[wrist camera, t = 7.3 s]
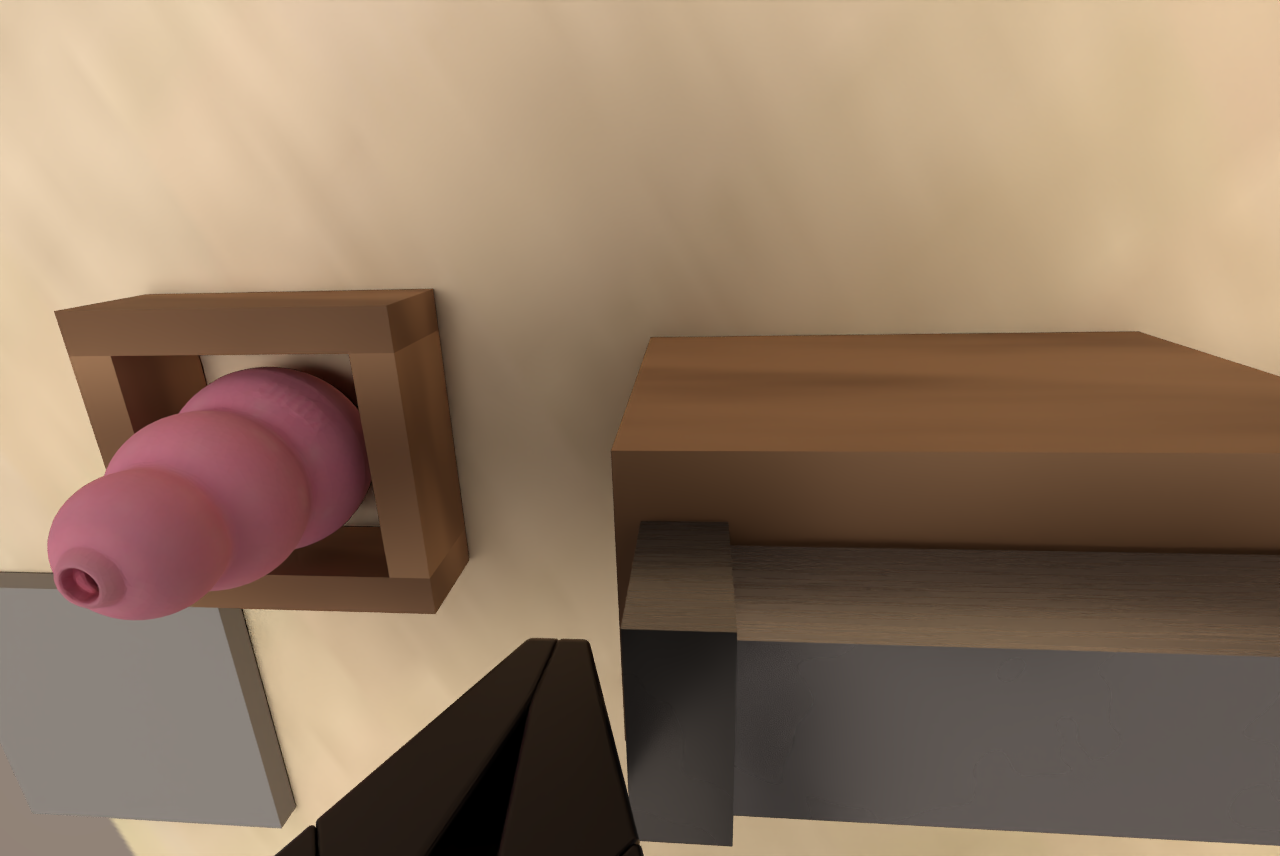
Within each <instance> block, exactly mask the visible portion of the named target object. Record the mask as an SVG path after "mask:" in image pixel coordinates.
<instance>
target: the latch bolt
mask: <svg viewBox="0 0 1280 856" xmlns="http://www.w3.org/2000/svg"><path fill="white" fill-rule="evenodd" d="M621 646H622V667H623V688H624V709H625V730H626V751H627V772H628V792H629V801H630V805H631V809H632V813H633V817H634V821H635V825H636V829H637V833H638V837H639V841H650V842H667V843H684V844H700V845H717V846H732V841H733V816H752V817H770V818H788V819H806V820H824V821H842V822H860V823H878V824H896V825H914V826H932V827H951V828H969V829H987V830H1005V831H1023V832H1041V833H1059V834H1077V835H1095V836H1113V837H1131V838H1149V839H1168V840H1186V841H1204V842H1222V843H1240V844H1258V845H1276V846H1280V555H1242V554H1185V553H1127V552H1070V551H1013V550H955V549H898V548H840V547H783V546H730V537H729V524H728V522H692V521H641V522H640V527H639V533H638V538H637V544H636V549H635V554H634V560H633V565H632V571H631V576H630V581H629V587H628V592H627V598H626V603H625V608H624V614H623V619H622V624H621Z"/></svg>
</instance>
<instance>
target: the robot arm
mask: <svg viewBox="0 0 1280 856" xmlns="http://www.w3.org/2000/svg"><path fill="white" fill-rule="evenodd" d="M275 856H644V855H643V851H642V848H641V846H640V841H639V837H638V833H637V829H636V825H635V821H634V817H633V813H632V809H631V805H630V801H629V797H628V793H627V789H626V785H625V781H624V777H623V773H622V769H621V765H620V761H619V757H618V753H617V749H616V745H615V741H614V737H613V733H612V729H611V725H610V721H609V717H608V713H607V709H606V705H605V702H604V698H603V694H602V690H601V686H600V682H599V678H598V674H597V670H596V666H595V662H594V658H593V654H592V650H591V646H590V643H589V642H588V641H587V640H584V639H561V640H558V639H551V638H530V639H528V640H527V641H525V642H524V643H523V644H522V645H520V646H519V647H518V648H517V649H516V650H515V651H513V652H512V653H511V654H510V655H509V656H508V657H506V658H505V659H504V660H503V661H502V662H501V663H499V664H498V665H497V666H496V667H495V668H494V669H492V670H491V671H490V672H489V673H488V674H487V675H485V676H484V677H483V678H482V679H481V680H480V681H478V682H477V683H476V684H475V685H474V686H473V687H471V688H470V689H469V690H468V691H467V692H466V693H464V694H463V695H462V696H461V697H460V698H459V699H457V700H456V701H455V702H454V703H453V704H452V705H450V706H449V707H448V708H447V709H446V710H445V711H443V712H442V713H441V714H440V715H439V716H438V717H436V718H435V719H434V720H433V721H432V722H430V723H429V724H428V725H427V726H426V727H425V728H423V729H422V730H421V731H420V732H419V733H418V734H416V735H415V736H414V737H413V738H412V739H411V740H409V741H408V742H407V743H406V744H405V745H404V746H402V747H401V748H400V749H399V750H398V751H397V752H395V753H394V754H393V755H392V756H391V757H390V758H388V759H387V760H386V761H385V762H384V763H383V764H381V765H380V766H379V767H378V768H377V769H376V770H374V771H373V772H372V773H371V774H370V775H369V776H367V777H366V778H365V779H364V780H363V781H362V782H360V783H359V784H358V785H357V786H356V787H355V788H353V789H352V790H351V791H350V792H349V793H348V794H346V795H345V796H344V797H343V798H342V799H341V800H339V801H338V802H337V803H336V804H335V805H334V806H332V807H331V808H330V809H329V810H328V811H327V812H325V813H324V814H323V815H322V816H321V817H320V818H318V819H317V821H316V827H315V826H313V825H311V826H309V827H307V828H306V829H305V830H304V831H303V832H302V833H300V834H299V835H298V836H297V837H296V838H295V839H293V840H292V841H291V842H290V843H289V844H288V845H286V846H285V847H284V848H283V849H282V850H281V851H279V852H278V853H277V854H276V855H275Z"/></svg>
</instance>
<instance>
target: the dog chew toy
mask: <svg viewBox="0 0 1280 856" xmlns="http://www.w3.org/2000/svg"><path fill="white" fill-rule="evenodd" d="M370 483H371V473H370V468H369V462H368V457H367V451H366V446H365V440H364V435H363V429H362V424H361V418H360V413H359V411H358V410H357V408H356V407H355V406H354V405H353V404H352V402H351V401H350V400H349V399H348V398H347V397H346V396H345V395H344V394H343V393H341V392H340V391H339V390H338V389H336V388H335V387H333V386H332V385H330V384H329V383H327V382H325V381H323V380H321V379H320V378H317V377H315V376H313V375H310V374H308V373H305V372H301V371H297V370H293V369H287V368H279V367H259V368H250V369H245V370H240V371H236V372H233V373H230V374H227V375H225V376H222V377H220V378H218V379H217V380H215V381H214V382H212V383H210V384H209V385H207V386H206V387H204V388H203V389H201V390H200V391H199V392H198V393H197V394H195V395H194V396H193V397H192V398H191V399H190V400H189V401H188V402H187V403H186V405H185V406H184V407H183V408H182V410H181V411H180V412H179V414H175V415H171V416H168V417H165V418H162V419H160V420H157V421H155V422H153V423H151V424H149V425H147V426H145V427H144V428H142V429H141V430H139V431H138V432H136V433H135V434H134V435H132V436H131V437H130V438H129V439H128V440H127V441H126V442H125V443H124V444H123V445H122V446H121V447H120V448H119V450H118V451H117V452H116V453H115V455H114V456H113V458H112V459H111V461H110V463H109V465H108V467H107V469H106V472H105V475H104V476H103V477H100V478H98V479H96V480H94V481H92V482H90V483H88V484H87V485H85V486H83V487H82V488H81V489H79V490H78V491H77V492H75V493H74V494H73V495H72V496H71V497H70V498H69V499H68V500H67V501H66V502H65V503H64V505H63V506H62V507H61V508H60V510H59V511H58V513H57V515H56V516H55V518H54V520H53V523H52V525H51V528H50V532H49V537H48V557H49V562H50V566H51V569H52V571H53V574H54V582H55V585H56V587H57V590H58V591H59V592H60V593H61V594H62V595H63V597H64V598H65V599H67V600H68V601H69V602H71V603H73V604H75V605H77V606H79V607H83V608H87V609H90V610H92V611H94V612H96V613H99V614H101V615H104V616H108V617H111V618H116V619H122V620H148V619H155V618H161V617H164V616H168V615H171V614H174V613H176V612H179V611H181V610H183V609H185V608H187V607H189V606H191V605H192V604H194V603H196V602H197V601H198V600H199V599H201V598H202V597H203V596H204V595H206V594H207V593H208V592H209V591H219V590H226V589H232V588H236V587H240V586H243V585H246V584H249V583H251V582H253V581H256V580H258V579H260V578H261V577H263V576H265V575H267V574H268V573H270V572H271V571H273V570H274V569H275V568H277V567H278V566H279V565H280V564H281V563H282V562H284V561H285V560H286V559H287V558H288V556H289V555H290V554H291V553H292V552H293V550H294V549H298V548H301V547H305V546H308V545H310V544H313V543H315V542H318V541H320V540H322V539H324V538H326V537H327V536H329V535H331V534H332V533H334V532H335V531H337V530H338V529H339V528H340V527H342V526H343V525H344V524H345V523H346V522H347V521H348V520H349V519H350V518H351V516H352V515H353V514H354V513H355V512H356V510H357V509H358V507H359V506H360V504H361V503H362V501H363V499H364V497H365V496H366V494H367V491H368V489H369V486H370Z"/></svg>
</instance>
